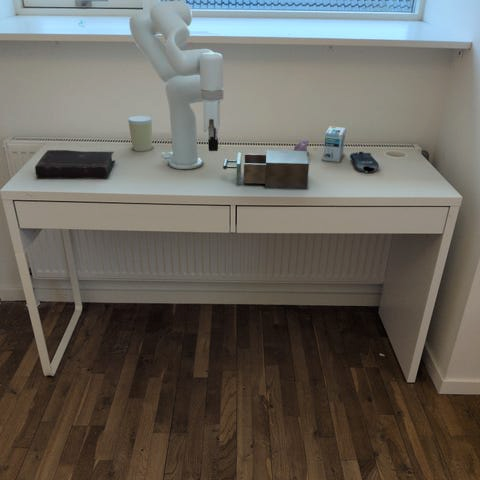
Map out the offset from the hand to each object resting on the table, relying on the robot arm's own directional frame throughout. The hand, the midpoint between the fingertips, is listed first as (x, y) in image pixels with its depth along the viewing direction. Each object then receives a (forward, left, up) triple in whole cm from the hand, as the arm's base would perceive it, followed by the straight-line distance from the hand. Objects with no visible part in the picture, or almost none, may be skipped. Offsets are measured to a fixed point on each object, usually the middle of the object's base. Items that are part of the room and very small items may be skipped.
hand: (213, 150), depth 188 cm
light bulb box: (+46, +28, -11) cm, 55 cm away
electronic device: (+57, +18, -11) cm, 61 cm away
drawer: (+13, 0, -10) cm, 16 cm away
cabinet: (+26, 0, -11) cm, 28 cm away
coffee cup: (-32, +34, -11) cm, 48 cm away
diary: (-51, +6, -11) cm, 53 cm away
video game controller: (+33, +31, -11) cm, 47 cm away
